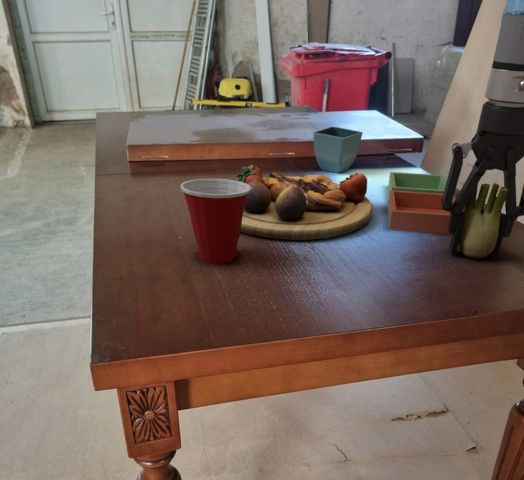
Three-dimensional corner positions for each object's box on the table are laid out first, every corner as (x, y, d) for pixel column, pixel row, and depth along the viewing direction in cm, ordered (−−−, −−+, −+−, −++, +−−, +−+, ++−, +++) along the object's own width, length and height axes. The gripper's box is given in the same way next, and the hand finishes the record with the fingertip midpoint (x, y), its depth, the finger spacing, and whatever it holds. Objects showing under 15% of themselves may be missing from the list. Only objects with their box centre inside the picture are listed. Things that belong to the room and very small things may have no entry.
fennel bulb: (449, 251, 89) (466, 180, 83) (471, 246, 91) (489, 176, 84) (475, 264, 85) (494, 190, 78) (497, 259, 87) (518, 186, 80)
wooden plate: (370, 192, 116) (375, 153, 111) (373, 249, 90) (380, 202, 85) (228, 182, 119) (227, 144, 115) (191, 235, 93) (189, 189, 89)
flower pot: (340, 177, 125) (344, 137, 120) (309, 170, 129) (312, 131, 124) (358, 169, 130) (363, 131, 125) (329, 163, 135) (332, 126, 130)
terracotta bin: (450, 212, 106) (454, 194, 104) (458, 235, 96) (463, 216, 94) (387, 207, 108) (389, 190, 106) (388, 229, 97) (392, 211, 95)
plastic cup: (260, 249, 89) (261, 177, 82) (236, 275, 81) (236, 198, 74) (201, 240, 92) (198, 170, 85) (173, 264, 83) (167, 189, 77)
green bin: (440, 191, 117) (443, 175, 115) (446, 208, 108) (450, 191, 106) (387, 187, 119) (390, 171, 117) (389, 204, 109) (392, 187, 107)
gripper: (446, 104, 73) (416, 257, 86) (591, 110, 71) (537, 267, 84) (440, 95, 79) (413, 239, 92) (573, 100, 77) (526, 248, 90)
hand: (472, 252), depth 88 cm, fingers closed on fennel bulb, 6 cm apart
